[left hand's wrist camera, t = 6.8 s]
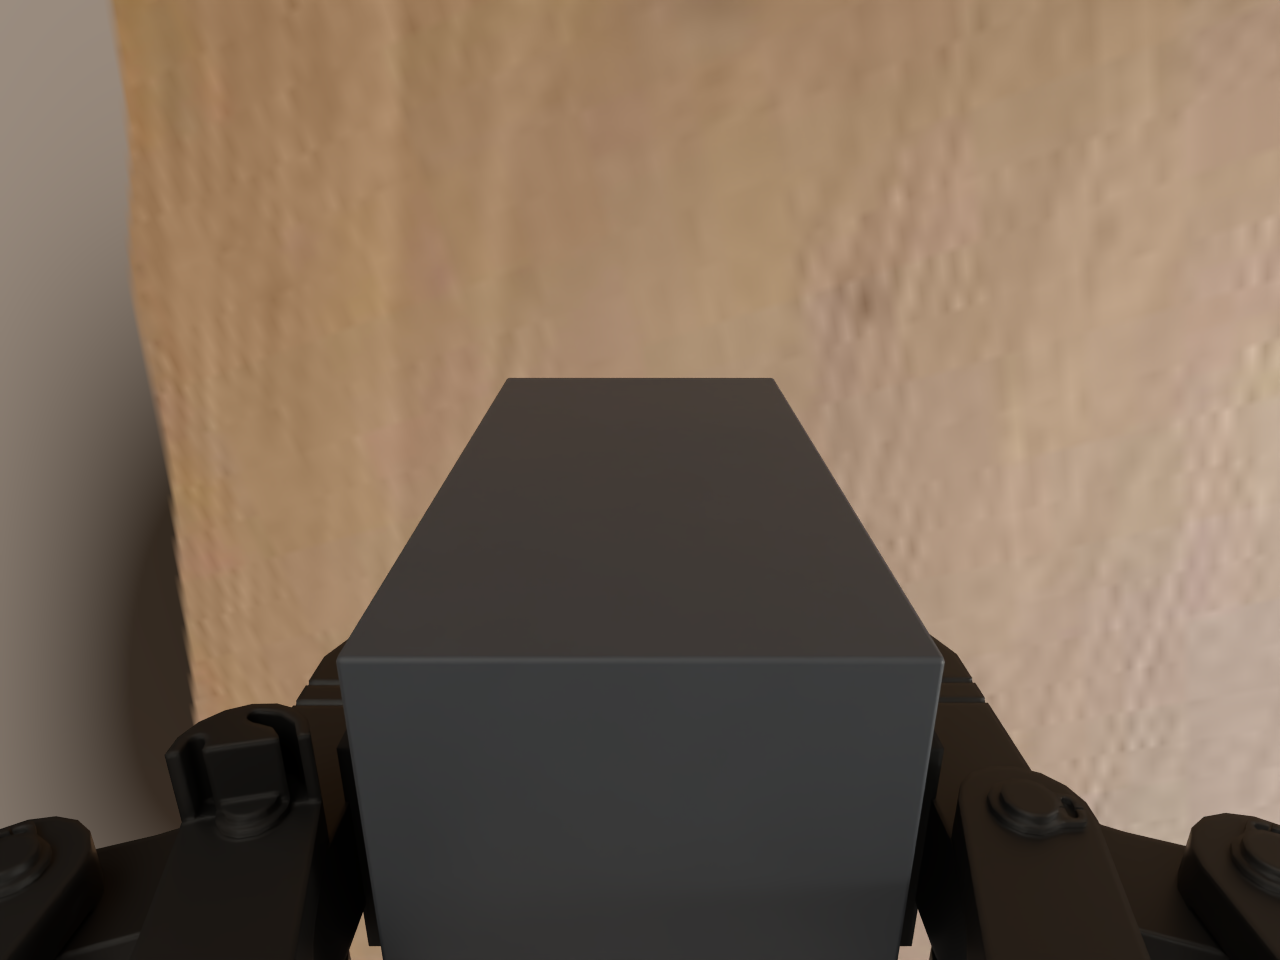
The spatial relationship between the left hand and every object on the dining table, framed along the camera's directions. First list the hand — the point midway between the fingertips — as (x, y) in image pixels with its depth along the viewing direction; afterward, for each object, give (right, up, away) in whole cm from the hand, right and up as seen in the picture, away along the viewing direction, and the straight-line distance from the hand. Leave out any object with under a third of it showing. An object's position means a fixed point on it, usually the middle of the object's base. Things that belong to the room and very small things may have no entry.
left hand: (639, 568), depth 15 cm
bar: (0, -9, +4) cm, 10 cm away
